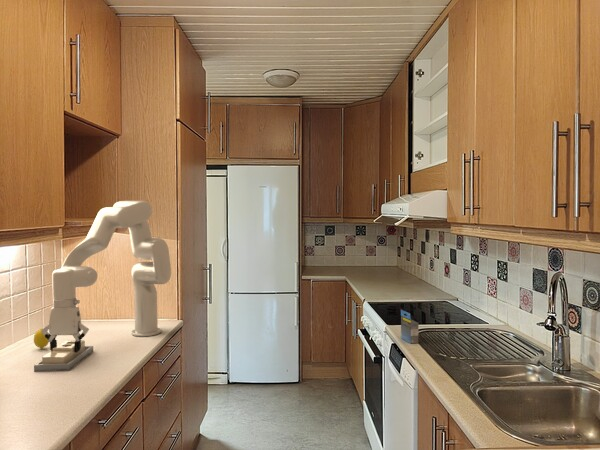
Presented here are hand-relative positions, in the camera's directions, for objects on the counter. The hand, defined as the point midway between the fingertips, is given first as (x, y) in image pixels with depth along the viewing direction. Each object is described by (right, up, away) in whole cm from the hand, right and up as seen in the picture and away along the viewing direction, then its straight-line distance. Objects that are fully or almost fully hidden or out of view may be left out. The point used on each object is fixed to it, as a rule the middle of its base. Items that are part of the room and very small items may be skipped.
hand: (65, 351), depth 181 cm
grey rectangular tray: (0, -3, 0) cm, 3 cm away
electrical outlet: (0, -2, -1) cm, 3 cm away
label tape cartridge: (+130, -2, +24) cm, 132 cm away
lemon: (-17, -3, +16) cm, 23 cm away
